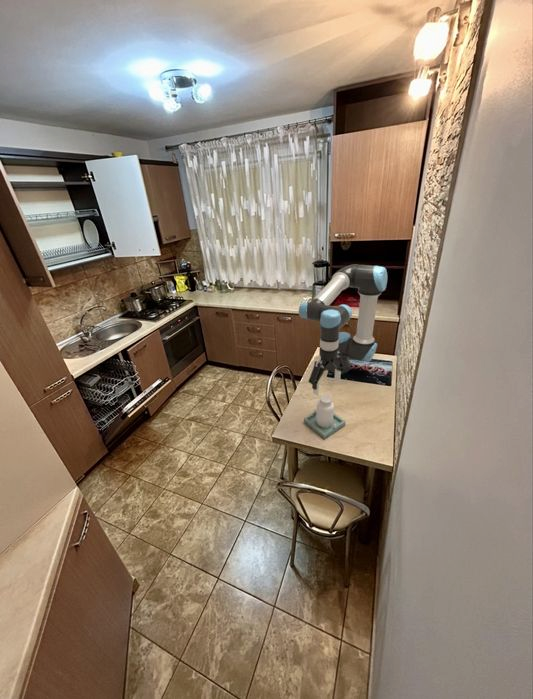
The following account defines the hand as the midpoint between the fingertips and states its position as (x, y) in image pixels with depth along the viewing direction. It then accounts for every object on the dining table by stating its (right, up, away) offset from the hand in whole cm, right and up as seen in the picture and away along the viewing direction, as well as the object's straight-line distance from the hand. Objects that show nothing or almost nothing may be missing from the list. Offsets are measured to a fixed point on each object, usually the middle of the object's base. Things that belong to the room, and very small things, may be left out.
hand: (326, 387), depth 125 cm
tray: (+1, -19, +11) cm, 22 cm away
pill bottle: (+1, -18, +10) cm, 21 cm away
